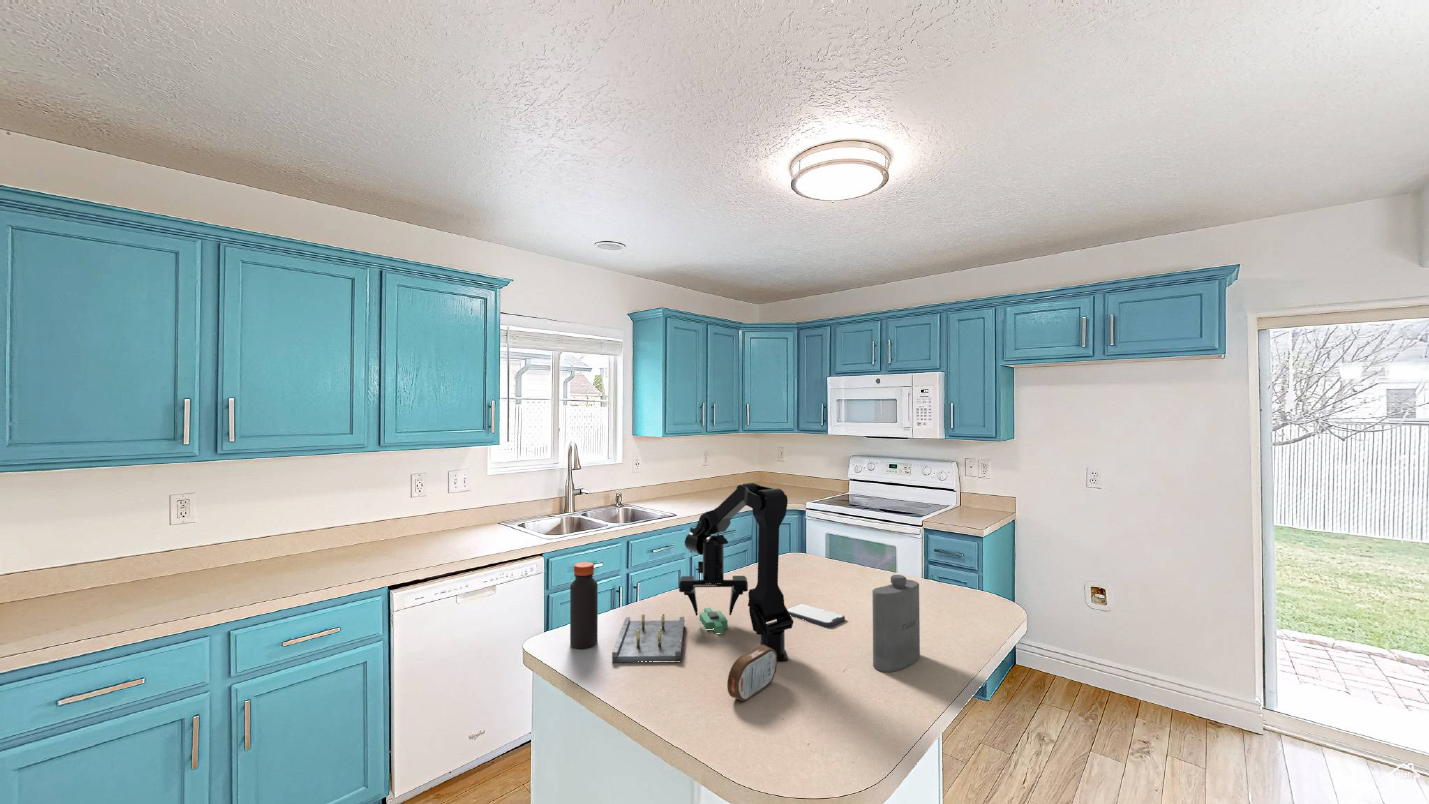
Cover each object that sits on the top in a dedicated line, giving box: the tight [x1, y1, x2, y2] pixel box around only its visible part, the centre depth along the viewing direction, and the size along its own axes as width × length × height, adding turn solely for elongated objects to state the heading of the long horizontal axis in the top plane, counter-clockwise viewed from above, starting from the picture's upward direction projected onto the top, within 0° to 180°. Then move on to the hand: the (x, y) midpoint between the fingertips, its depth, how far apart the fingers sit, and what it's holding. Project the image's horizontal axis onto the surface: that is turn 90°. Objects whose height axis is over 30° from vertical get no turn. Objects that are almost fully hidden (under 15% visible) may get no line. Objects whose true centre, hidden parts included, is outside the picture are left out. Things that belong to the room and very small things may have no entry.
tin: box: [726, 644, 778, 702], centre depth 116 cm, size 15×3×8 cm, turn 141°
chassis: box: [611, 613, 685, 664], centre depth 140 cm, size 22×16×5 cm
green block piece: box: [699, 607, 728, 634], centre depth 152 cm, size 14×6×3 cm, turn 14°
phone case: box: [787, 603, 846, 629], centre depth 158 cm, size 9×2×16 cm
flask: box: [872, 574, 921, 673], centre depth 129 cm, size 15×6×20 cm, turn 129°
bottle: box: [569, 561, 599, 650], centre depth 140 cm, size 7×7×20 cm
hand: (713, 614), depth 152 cm, fingers open, 9 cm apart
